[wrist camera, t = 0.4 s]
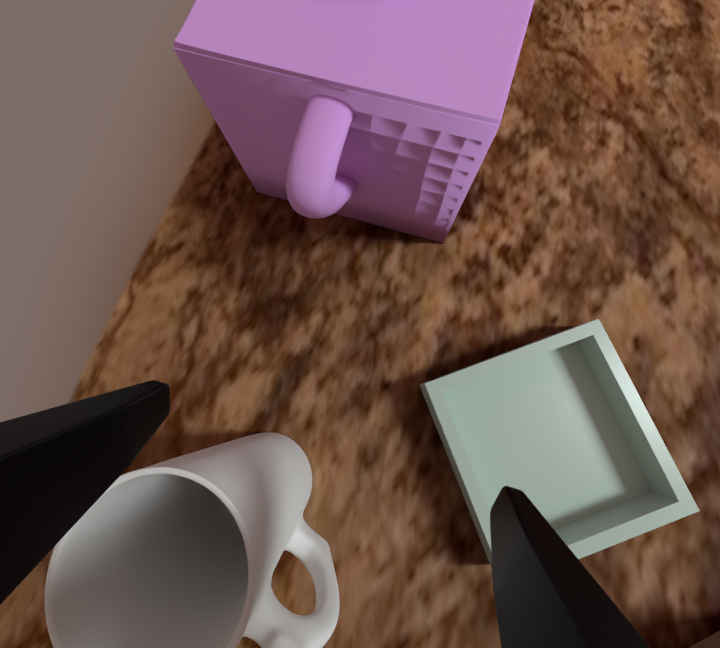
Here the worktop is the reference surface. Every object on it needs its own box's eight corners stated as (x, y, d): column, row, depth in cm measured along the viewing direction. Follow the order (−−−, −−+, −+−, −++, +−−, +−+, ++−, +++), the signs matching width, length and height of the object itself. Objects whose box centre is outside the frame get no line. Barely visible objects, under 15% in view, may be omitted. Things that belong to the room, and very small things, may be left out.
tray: (661, 496, 21) (699, 510, 19) (490, 564, 21) (505, 588, 18) (575, 326, 24) (598, 318, 21) (419, 384, 23) (424, 383, 21)
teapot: (503, 35, 29) (623, -289, 15) (424, 304, 24) (493, 192, 11) (336, 0, 30) (307, -327, 16) (234, 248, 26) (77, 85, 12)
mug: (195, 492, 22) (-1, 606, 11) (258, 407, 23) (141, 425, 11) (316, 593, 21) (244, 856, 9) (377, 499, 22) (383, 627, 10)
